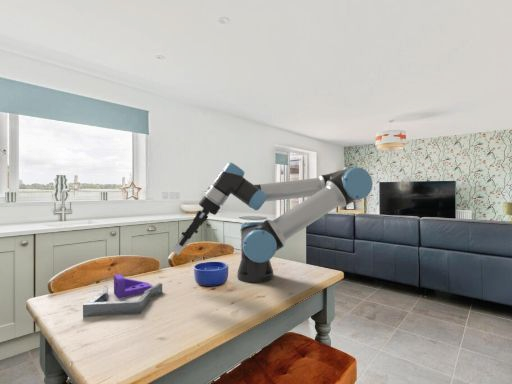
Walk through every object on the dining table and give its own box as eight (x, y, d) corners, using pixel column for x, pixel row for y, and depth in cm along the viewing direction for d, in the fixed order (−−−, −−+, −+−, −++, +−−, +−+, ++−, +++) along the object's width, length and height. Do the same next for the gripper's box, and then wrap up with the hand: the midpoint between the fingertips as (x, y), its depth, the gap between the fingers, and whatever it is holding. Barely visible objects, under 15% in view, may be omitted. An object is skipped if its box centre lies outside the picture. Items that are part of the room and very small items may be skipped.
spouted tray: (162, 291, 101) (162, 281, 101) (147, 313, 82) (147, 301, 82) (104, 293, 99) (104, 284, 99) (75, 317, 80) (75, 305, 80)
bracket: (118, 299, 94) (118, 279, 94) (114, 294, 100) (113, 275, 100) (154, 291, 102) (154, 272, 102) (148, 286, 107) (147, 268, 107)
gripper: (207, 194, 114) (176, 237, 113) (200, 195, 89) (161, 250, 88) (222, 205, 115) (192, 247, 114) (220, 208, 90) (181, 263, 89)
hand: (178, 248), depth 101 cm, fingers open, 13 cm apart
